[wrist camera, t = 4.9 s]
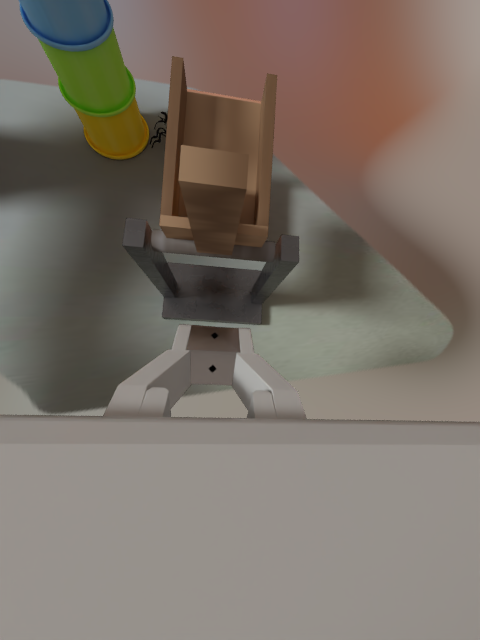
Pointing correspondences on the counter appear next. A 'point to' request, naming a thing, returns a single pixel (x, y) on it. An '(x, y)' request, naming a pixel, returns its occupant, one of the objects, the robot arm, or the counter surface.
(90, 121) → the stacking cups
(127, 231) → the lever stand
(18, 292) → the counter surface
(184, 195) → the lever
